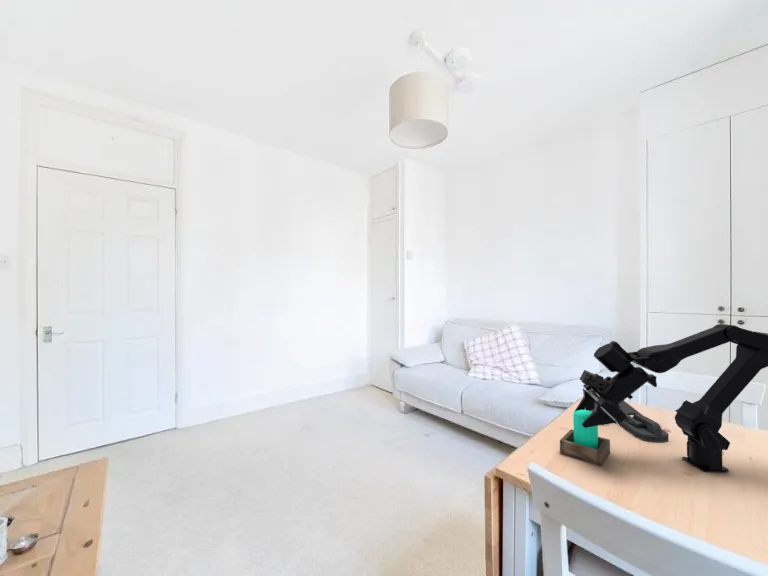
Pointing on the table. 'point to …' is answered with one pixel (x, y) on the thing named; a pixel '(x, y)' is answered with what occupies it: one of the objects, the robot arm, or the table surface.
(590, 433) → the candle
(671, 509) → the table surface
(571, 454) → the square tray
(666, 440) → the zipper pull
